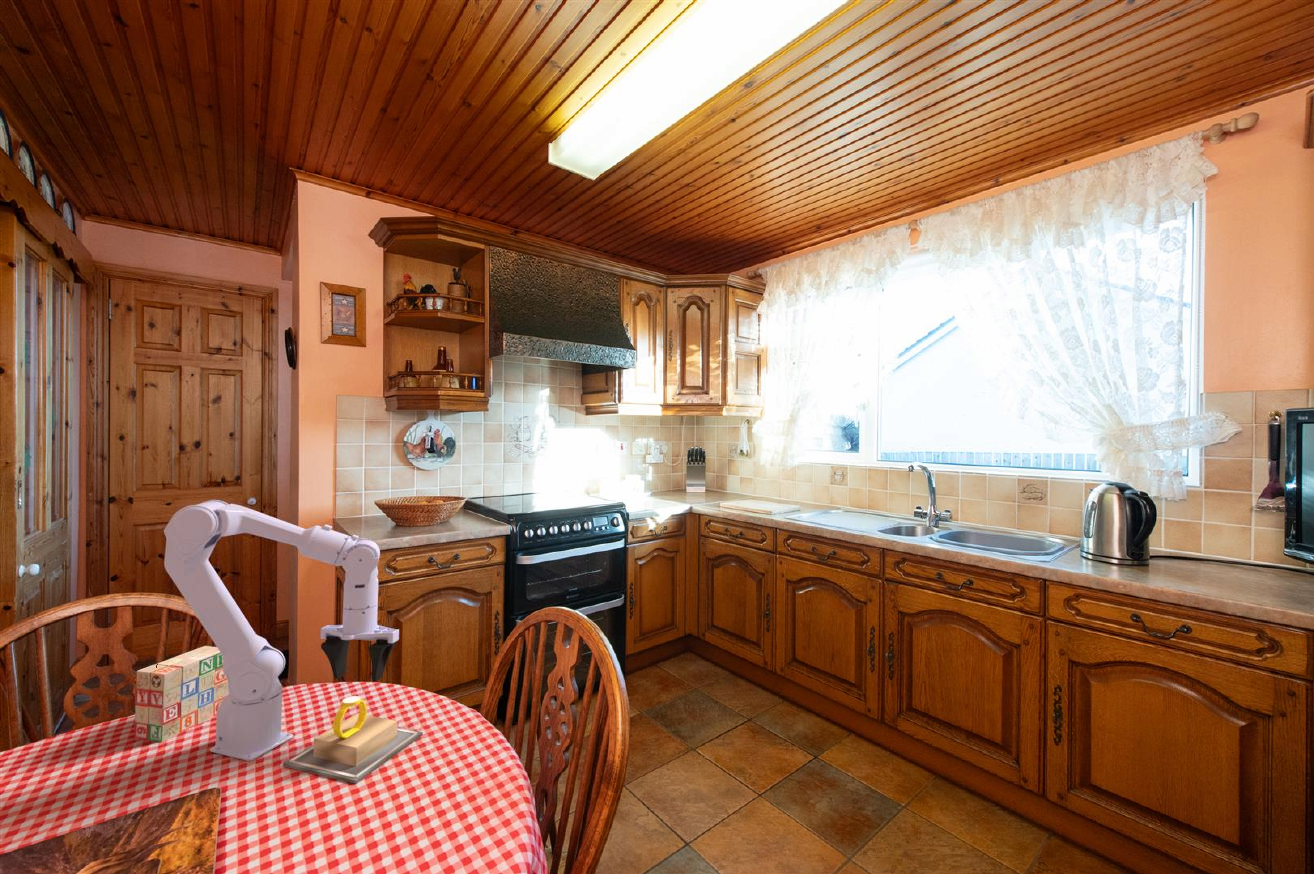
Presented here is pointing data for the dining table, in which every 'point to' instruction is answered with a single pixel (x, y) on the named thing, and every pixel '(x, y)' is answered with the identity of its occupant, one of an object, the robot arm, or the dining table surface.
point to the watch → (339, 716)
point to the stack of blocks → (179, 693)
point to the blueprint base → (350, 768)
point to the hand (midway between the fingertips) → (358, 678)
